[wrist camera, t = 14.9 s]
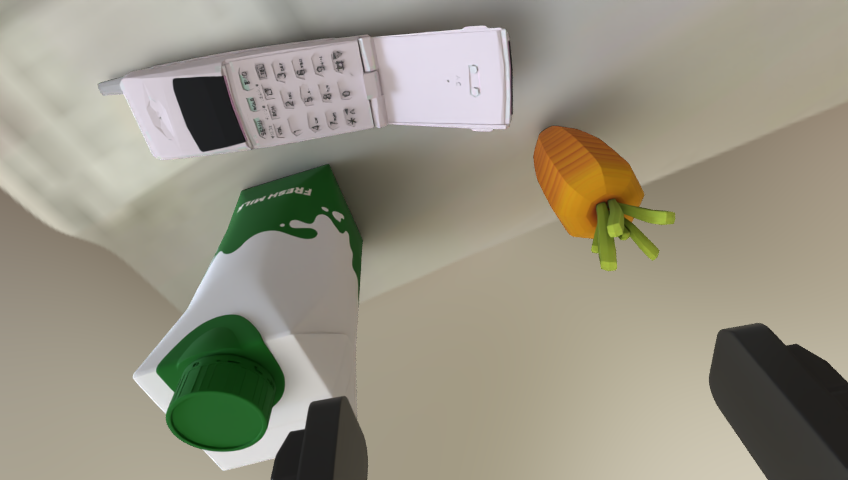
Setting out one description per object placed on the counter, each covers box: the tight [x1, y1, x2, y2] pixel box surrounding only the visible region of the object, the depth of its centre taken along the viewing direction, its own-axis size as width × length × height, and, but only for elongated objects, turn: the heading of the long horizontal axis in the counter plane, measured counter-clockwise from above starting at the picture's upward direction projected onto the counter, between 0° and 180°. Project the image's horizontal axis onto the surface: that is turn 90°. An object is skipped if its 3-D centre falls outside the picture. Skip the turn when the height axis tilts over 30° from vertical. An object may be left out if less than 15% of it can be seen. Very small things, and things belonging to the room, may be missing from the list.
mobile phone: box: [98, 26, 513, 160], centre depth 30 cm, size 6×6×25 cm
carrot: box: [533, 126, 675, 271], centre depth 29 cm, size 5×5×15 cm
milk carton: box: [133, 164, 363, 471], centre depth 29 cm, size 9×9×20 cm
